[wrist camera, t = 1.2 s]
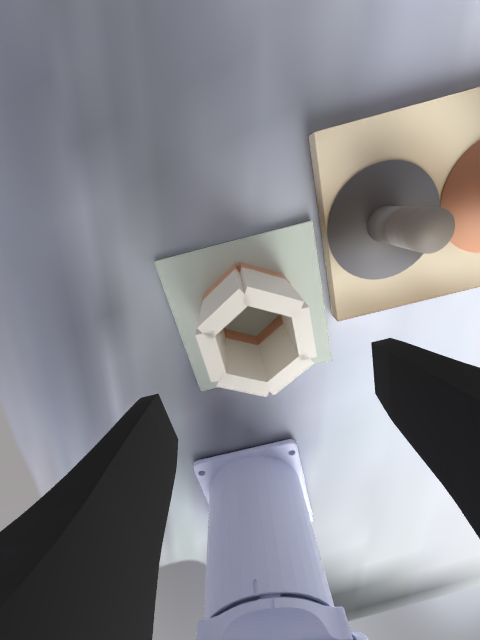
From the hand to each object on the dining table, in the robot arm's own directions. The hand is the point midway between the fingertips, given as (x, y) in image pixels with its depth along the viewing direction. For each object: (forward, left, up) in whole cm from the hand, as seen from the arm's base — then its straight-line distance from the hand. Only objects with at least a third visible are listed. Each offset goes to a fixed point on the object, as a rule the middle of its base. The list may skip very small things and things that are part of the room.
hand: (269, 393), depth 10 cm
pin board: (+3, -11, -9) cm, 14 cm away
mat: (-1, 0, -9) cm, 9 cm away
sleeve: (0, 0, -8) cm, 8 cm away
